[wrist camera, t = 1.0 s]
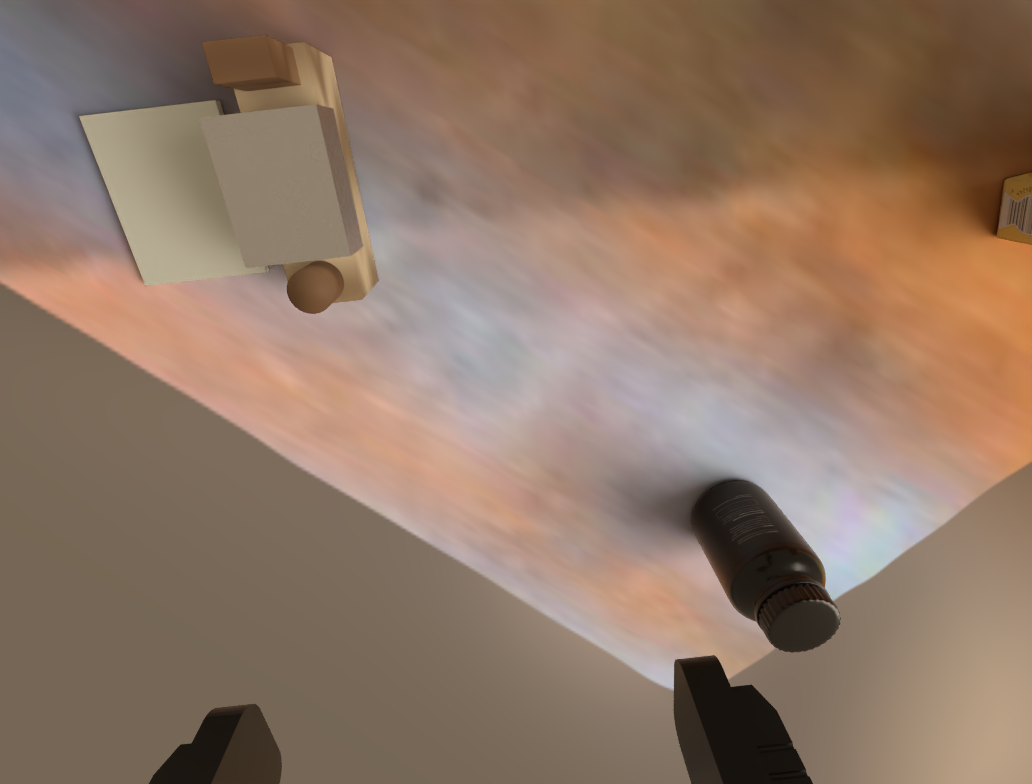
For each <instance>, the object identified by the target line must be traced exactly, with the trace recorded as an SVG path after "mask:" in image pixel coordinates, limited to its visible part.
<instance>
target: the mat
mask: <svg viewBox="0 0 1032 784" xmlns="http://www.w3.org/2000/svg"><path fill="white" fill-rule="evenodd" d="M220 115H224V113H223V110H222V106H221V103H220V101H217V100H212V101H204V102H195V103H187V104H178V105H170V106H161V107H153V108H144V109H136V110H127V111H119V112H110V113H102V114H93V115H85V116H79V117H80V120H81V122H82V125H83V128H84V130H85V133H86V135H87V138H88V140H89V143H90V145H91V148H92V151H93V153H94V156H95V158H96V161H97V163H98V166H99V168H100V171H101V174H102V176H103V179H104V181H105V184H106V186H107V189H108V191H109V194H110V197H111V199H112V202H113V204H114V207H115V209H116V212H117V214H118V217H119V220H120V222H121V225H122V227H123V230H124V232H125V235H126V237H127V240H128V243H129V245H130V248H131V250H132V253H133V255H134V258H135V260H136V263H137V266H138V268H139V271H140V273H141V276H142V278H143V281H144V283H145V286H150V285H159V284H168V283H176V282H185V281H194V280H202V279H211V278H220V277H229V276H237V275H246V274H255V273H264V272H267V271H269V267H268V266H261V267H252V268H245V265H244V261H243V258H242V255H241V252H240V249H239V245H238V242H237V239H236V236H235V232H234V229H233V226H232V223H231V220H230V216H229V213H228V210H227V207H226V203H225V200H224V197H223V194H222V191H221V187H220V184H219V181H218V178H217V174H216V171H215V168H214V165H213V162H212V158H211V155H210V152H209V149H208V145H207V142H206V139H205V136H204V133H203V129H202V126H201V123H200V120H199V118H203V117H211V116H220Z"/></svg>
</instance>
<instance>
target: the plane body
mask: <svg viewBox="0 0 1032 784" xmlns="http://www.w3.org/2000/svg"><path fill="white" fill-rule="evenodd" d="M202 45H203V48H204V52H205V55H206V59H207V62H208V65H209V69H210V72H211V76H212V79H213V83H214V84H216V85H220V86H225V87H229V88H234V92H235V95H236V99H237V102H238V106H239V109H240V113H245V112H254V111H262V110H271V109H279V108H288V107H296V106H305V105H313V104H317V105H321V106H325V107H329V108H333V109H334V113H335V118H336V123H337V127H338V132H339V136H340V141H341V146H342V150H343V155H344V159H345V164H346V169H347V173H348V178H349V182H350V187H351V192H352V196H353V201H354V205H355V210H356V215H357V219H358V224H359V228H360V233H361V238H362V242H363V247H362V248H361V249H360V250H358V251H357V252H356V253H354V254H353V255H352V256H348V257H339V258H330V259H322V260H313V261H304V262H296V263H287V264H283V266H284V270H285V273H286V277H287V280H288V283H287V294H288V297H289V299H290V301H291V302H292V304H293V305H294V306H295V307H296V308H298V309H299V310H301V311H303V312H305V313H310V314H316V313H320V312H322V311H324V310H325V309H327V308H328V307H329V306H330V305H331V304H332V303H337V302H346V301H355V300H362V299H363V298H364V297H365V296H366V295H367V293H368V292H369V291H370V290H371V289H372V288H373V287H374V285H375V284H376V283H377V282H378V281H379V280H378V276H377V271H376V266H375V261H374V257H373V252H372V247H371V242H370V238H369V233H368V228H367V224H366V219H365V214H364V209H363V205H362V200H361V195H360V190H359V186H358V181H357V176H356V171H355V167H354V162H353V157H352V153H351V148H350V143H349V138H348V134H347V129H346V124H345V119H344V115H343V110H342V105H341V101H340V96H339V91H338V86H337V82H336V77H335V72H334V67H333V63H332V58H331V57H330V56H328V55H326V54H324V53H322V52H321V51H319V50H317V49H315V48H313V47H312V46H310V45H308V44H306V43H304V42H299V43H291V44H283V43H281V42H279V41H277V40H275V39H273V38H271V37H269V36H267V35H258V36H249V37H241V38H233V39H224V40H216V41H207V42H202Z"/></svg>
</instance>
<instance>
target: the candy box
mask: <svg viewBox="0 0 1032 784" xmlns="http://www.w3.org/2000/svg"><path fill="white" fill-rule="evenodd" d="M996 236H997V238H1001V239H1005V240H1010V241H1015V242H1020V243H1025V244H1030V245H1032V172H1030V173H1027V174H1023V175H1019V176H1015V177H1011V178H1007V179H1006V180H1005V181H1004V186H1003V193H1002V200H1001V207H1000V214H999V224H998V230H997V235H996Z"/></svg>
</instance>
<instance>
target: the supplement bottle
mask: <svg viewBox="0 0 1032 784" xmlns="http://www.w3.org/2000/svg"><path fill="white" fill-rule="evenodd" d="M691 524H692V529H693V531H694V534H695V536H696V538H697V540H698V542H699V544H700V546H701V547H702V549H703V551H704V553H705V555H706V557H707V559H708V561H709V563H710V564H711V566H712V568H713V570H714V572H715V574H716V576H717V578H718V580H719V581H720V583H721V585H722V587H723V589H724V591H725V593H726V595H727V597H728V598H729V600H730V602H731V604H732V605H733V607H734V608H735V609H736V610H737V611H738V612H739V613H740V614H742V615H743V616H745V617H746V618H748V619H750V620H753V621H756V622H757V623H758V625H759V626H760V628H761V629H762V630H763V632H764V633H765V635H766V637H767V638H768V640H769V642H770V643H771V644H773V646H774V647H776V648H778V649H779V650H783V651H785V652H801V651H807V650H811V649H814V648H815V647H819V646H820V645H821V644H824V643H825V642H826V641H827V640H829V639H831V637H832V636H833V635H834V634H835V632H836V631H837V629H838V626H839V625H840V619H841V618H840V612H839V610H838V608H837V606H836V605H835V604H834V602H833V601H832V600H831V598H830V596H829V594H828V592H827V591H826V589H825V581H826V577H825V570H824V567H823V564H822V562H821V561H820V559H819V558H818V556H817V555H816V554H815V552H814V551H813V550H812V549H811V547H810V546H809V545H808V544H807V542H806V541H805V540H804V539H803V537H802V536H801V535H800V534H799V532H798V531H797V530H796V529H795V527H794V526H793V525H792V524H791V522H790V521H789V520H788V519H787V517H786V516H785V515H784V514H783V512H782V511H781V510H780V508H779V507H778V506H777V505H776V503H775V502H774V501H773V500H772V499H771V497H770V496H769V495H768V494H767V493H766V492H765V491H764V490H763V489H762V488H761V487H759V486H757V485H755V484H753V483H750V482H745V481H731V482H726V483H722V484H720V485H717V486H715V487H713V488H711V489H710V490H708V491H707V492H706V493H705V494H704V495H702V497H701V498H700V499H699V500H698V502H697V503H696V505H695V507H694V509H693V512H692V517H691Z"/></svg>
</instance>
